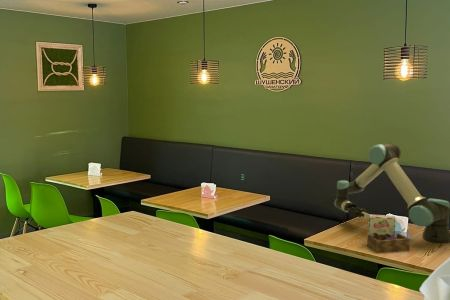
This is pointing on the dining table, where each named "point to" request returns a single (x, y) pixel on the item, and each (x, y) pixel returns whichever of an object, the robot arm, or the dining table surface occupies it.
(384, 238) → the candy box
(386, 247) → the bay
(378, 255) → the dining table surface
